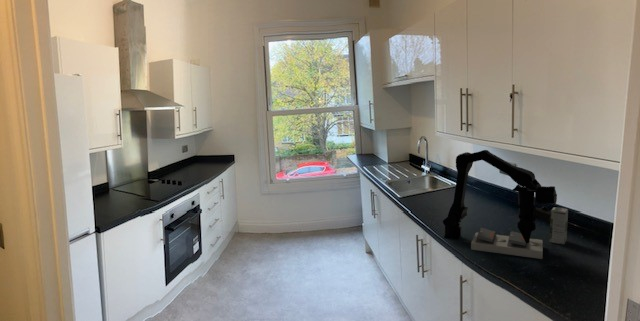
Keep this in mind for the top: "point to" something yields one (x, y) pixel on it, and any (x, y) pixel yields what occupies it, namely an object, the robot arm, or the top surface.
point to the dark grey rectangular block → (486, 234)
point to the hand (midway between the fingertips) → (527, 239)
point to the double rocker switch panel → (508, 246)
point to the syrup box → (558, 225)
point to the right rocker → (516, 238)
